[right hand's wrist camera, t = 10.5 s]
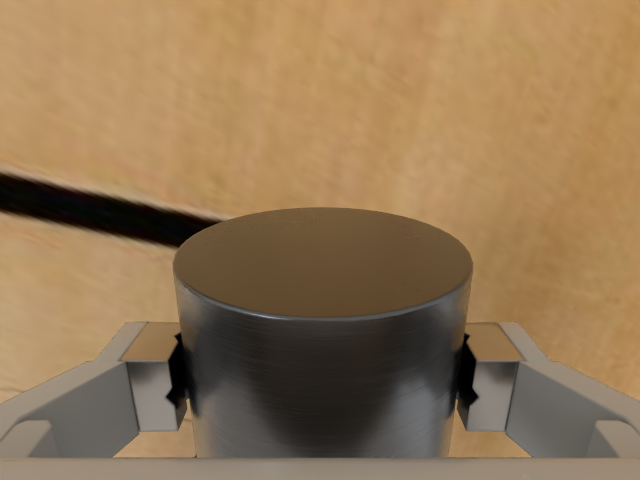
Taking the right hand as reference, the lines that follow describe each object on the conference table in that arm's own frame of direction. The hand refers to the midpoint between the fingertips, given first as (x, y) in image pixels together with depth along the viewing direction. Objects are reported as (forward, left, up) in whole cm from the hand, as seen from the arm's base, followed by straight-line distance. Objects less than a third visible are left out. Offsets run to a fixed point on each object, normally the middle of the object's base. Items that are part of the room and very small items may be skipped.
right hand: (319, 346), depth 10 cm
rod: (+11, -3, -3) cm, 11 cm away
